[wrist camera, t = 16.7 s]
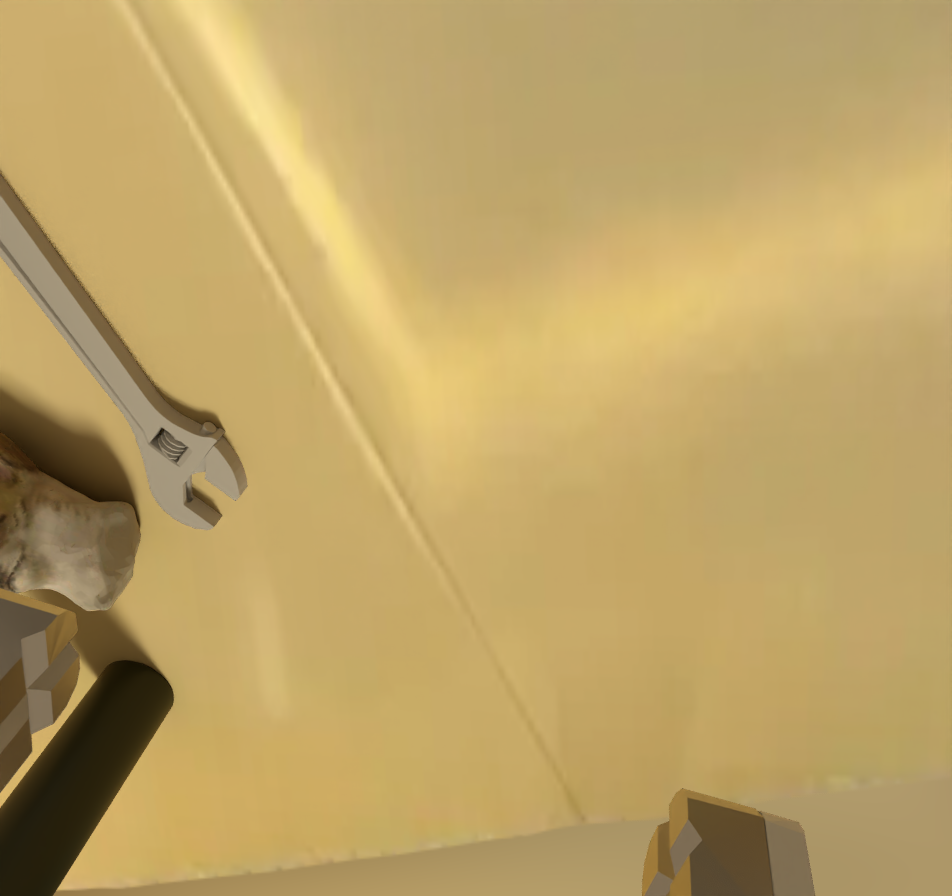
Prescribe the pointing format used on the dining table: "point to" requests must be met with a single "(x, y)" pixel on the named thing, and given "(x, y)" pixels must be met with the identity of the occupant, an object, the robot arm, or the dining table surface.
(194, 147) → the dining table surface
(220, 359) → the dining table surface
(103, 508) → the ceramic sculpture
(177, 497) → the adjustable wrench
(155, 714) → the wine bottle
